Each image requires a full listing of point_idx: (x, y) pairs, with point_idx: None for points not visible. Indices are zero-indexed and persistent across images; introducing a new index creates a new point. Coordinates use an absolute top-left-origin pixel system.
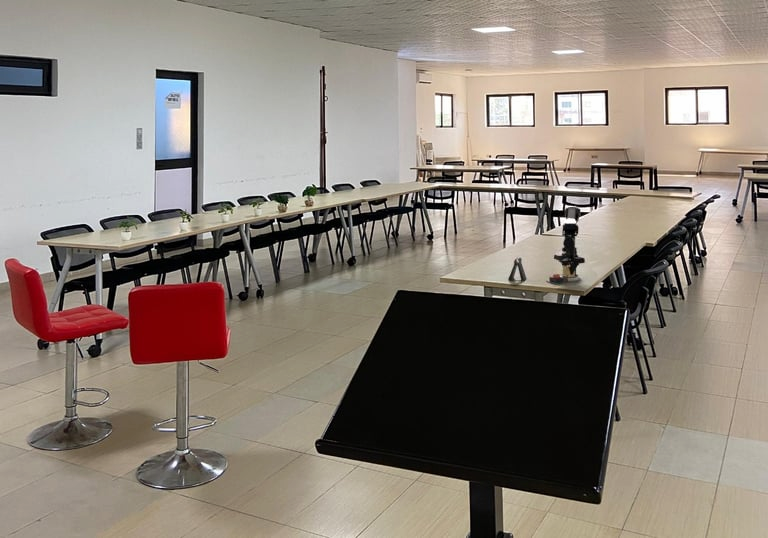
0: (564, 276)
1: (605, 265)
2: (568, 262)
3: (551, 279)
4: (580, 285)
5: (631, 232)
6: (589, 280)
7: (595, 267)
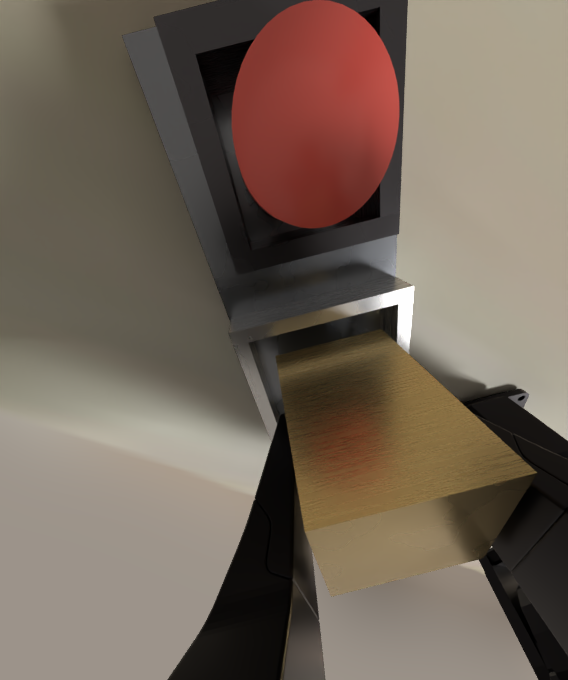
0: (344, 339)
1: None
2: (545, 608)
3: None
4: (50, 370)
5: None
6: None
7: None
